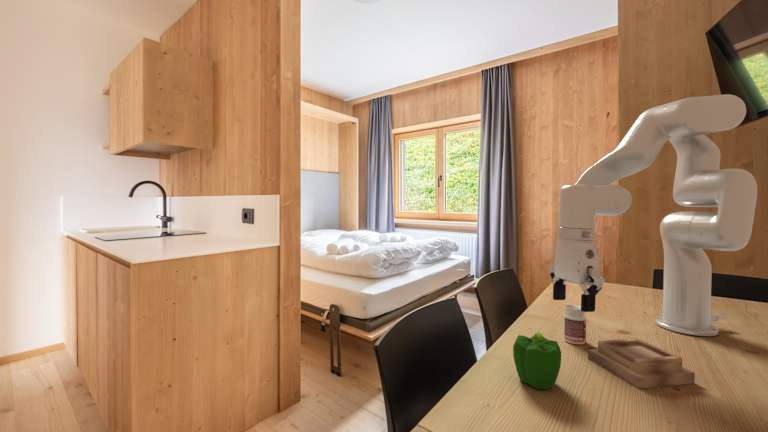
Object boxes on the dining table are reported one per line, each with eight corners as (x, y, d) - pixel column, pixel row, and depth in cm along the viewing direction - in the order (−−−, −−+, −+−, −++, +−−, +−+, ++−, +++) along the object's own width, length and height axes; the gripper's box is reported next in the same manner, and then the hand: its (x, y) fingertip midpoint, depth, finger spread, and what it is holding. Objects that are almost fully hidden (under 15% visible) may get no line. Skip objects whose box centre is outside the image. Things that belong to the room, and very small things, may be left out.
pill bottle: (589, 345, 78) (589, 310, 78) (567, 344, 79) (567, 309, 79) (581, 338, 83) (581, 305, 83) (560, 336, 84) (561, 303, 84)
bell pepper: (516, 367, 68) (516, 319, 68) (561, 377, 64) (562, 326, 63) (508, 386, 61) (509, 333, 60) (559, 399, 56) (560, 342, 56)
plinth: (636, 354, 74) (636, 335, 73) (694, 383, 62) (694, 360, 62) (588, 358, 72) (588, 339, 72) (638, 388, 60) (639, 365, 60)
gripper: (619, 239, 73) (616, 316, 73) (564, 233, 90) (562, 295, 90) (588, 238, 71) (585, 317, 72) (539, 232, 88) (536, 296, 89)
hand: (572, 305), depth 81 cm, fingers open, 9 cm apart
